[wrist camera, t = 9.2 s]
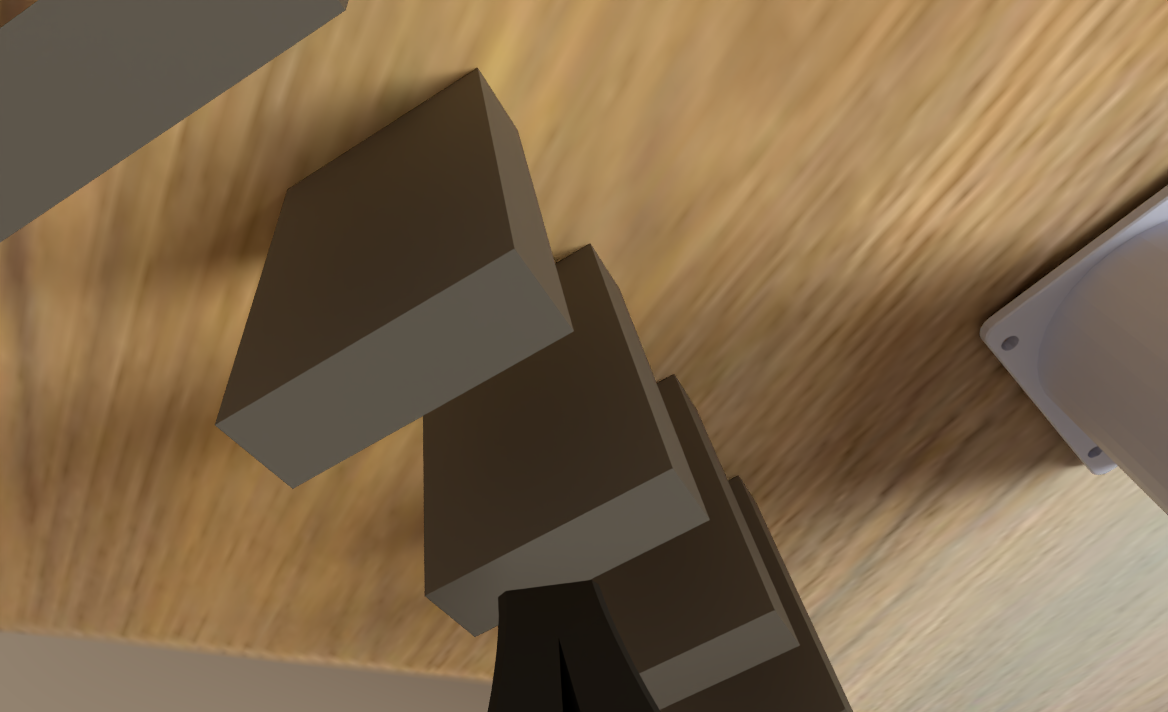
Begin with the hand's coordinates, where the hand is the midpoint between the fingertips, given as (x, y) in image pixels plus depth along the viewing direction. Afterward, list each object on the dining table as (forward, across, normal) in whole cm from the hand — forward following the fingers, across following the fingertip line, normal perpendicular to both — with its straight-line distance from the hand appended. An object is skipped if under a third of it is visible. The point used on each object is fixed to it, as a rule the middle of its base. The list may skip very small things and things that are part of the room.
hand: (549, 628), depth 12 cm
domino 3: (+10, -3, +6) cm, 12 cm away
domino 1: (+10, +2, -3) cm, 11 cm away
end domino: (+10, +4, -7) cm, 13 cm away
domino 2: (+10, -1, +1) cm, 10 cm away
